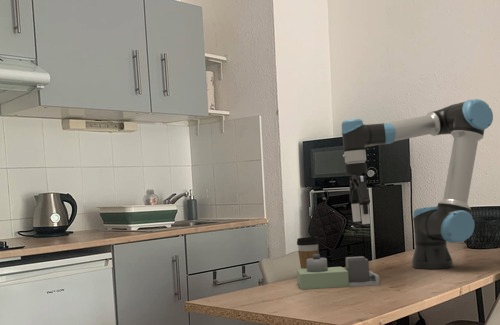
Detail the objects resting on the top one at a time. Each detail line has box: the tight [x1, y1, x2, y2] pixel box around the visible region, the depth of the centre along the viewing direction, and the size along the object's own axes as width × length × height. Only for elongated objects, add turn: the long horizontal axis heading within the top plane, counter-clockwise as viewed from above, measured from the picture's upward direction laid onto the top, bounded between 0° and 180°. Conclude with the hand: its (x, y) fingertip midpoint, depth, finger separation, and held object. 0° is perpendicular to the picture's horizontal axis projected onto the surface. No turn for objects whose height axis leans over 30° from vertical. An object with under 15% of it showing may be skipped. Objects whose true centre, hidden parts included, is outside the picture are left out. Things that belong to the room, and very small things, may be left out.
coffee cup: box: [296, 236, 320, 269], centre depth 212 cm, size 8×8×15 cm
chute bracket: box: [349, 270, 381, 288], centre depth 193 cm, size 10×13×3 cm
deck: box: [296, 253, 349, 291], centre depth 193 cm, size 16×12×11 cm
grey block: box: [345, 255, 370, 283], centre depth 193 cm, size 7×4×9 cm, turn 91°
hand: (361, 222), depth 198 cm, fingers open, 13 cm apart
